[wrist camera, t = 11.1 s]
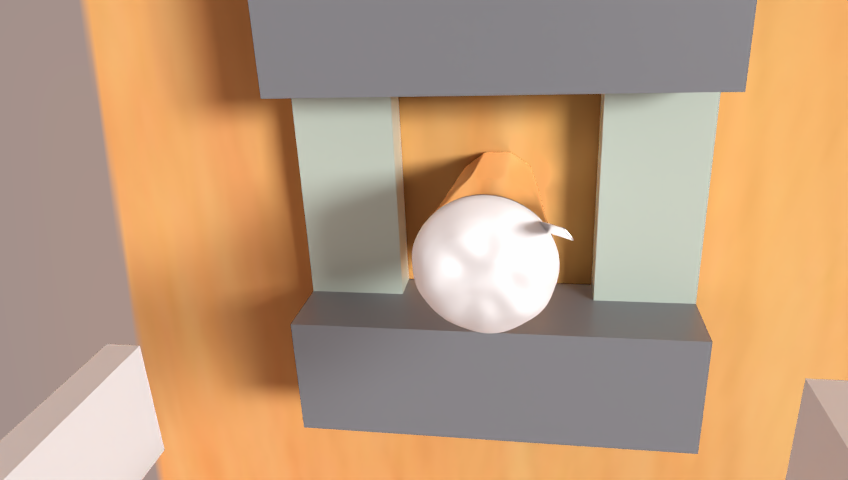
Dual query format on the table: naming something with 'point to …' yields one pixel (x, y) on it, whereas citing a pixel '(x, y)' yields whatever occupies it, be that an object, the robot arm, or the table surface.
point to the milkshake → (488, 248)
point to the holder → (570, 303)
